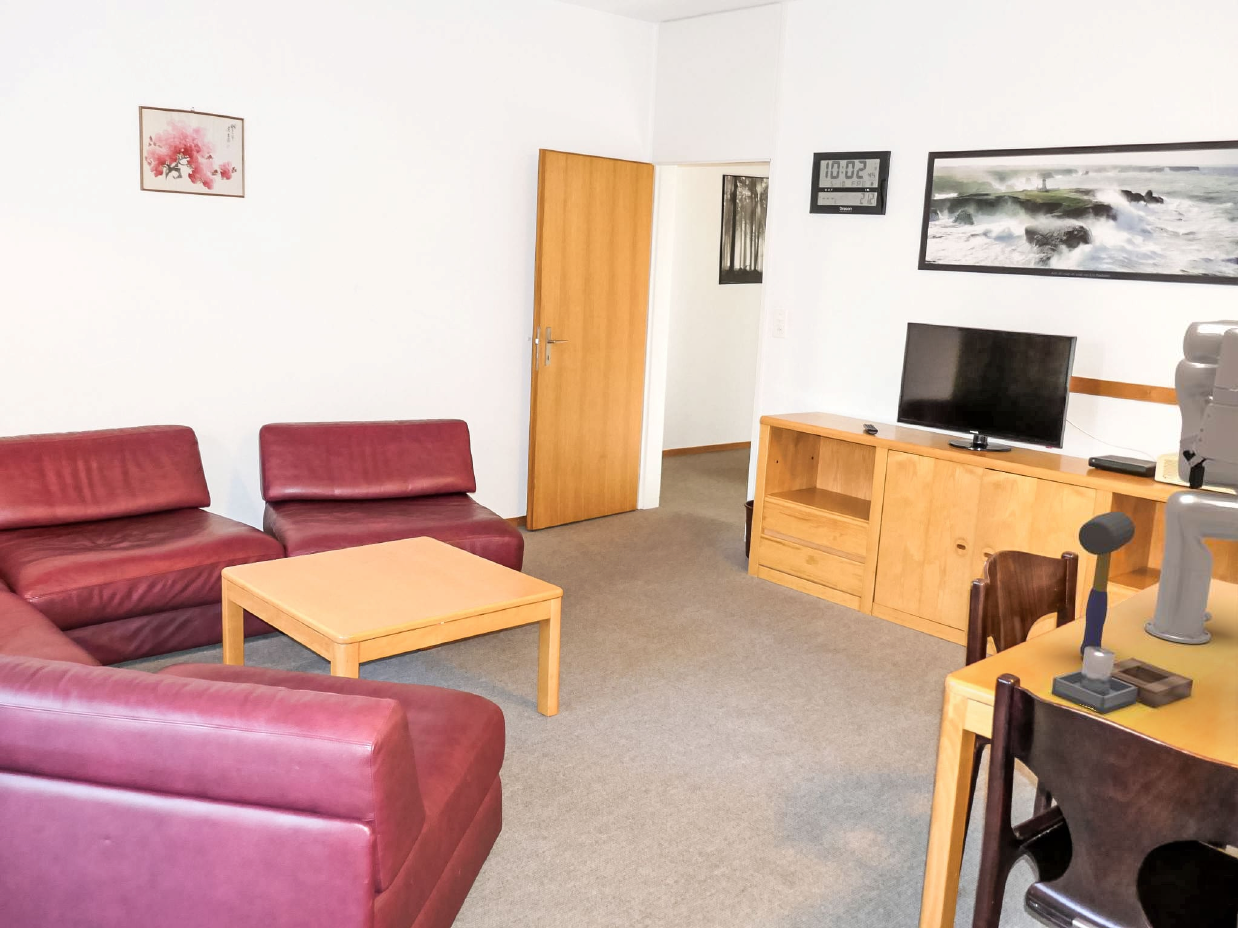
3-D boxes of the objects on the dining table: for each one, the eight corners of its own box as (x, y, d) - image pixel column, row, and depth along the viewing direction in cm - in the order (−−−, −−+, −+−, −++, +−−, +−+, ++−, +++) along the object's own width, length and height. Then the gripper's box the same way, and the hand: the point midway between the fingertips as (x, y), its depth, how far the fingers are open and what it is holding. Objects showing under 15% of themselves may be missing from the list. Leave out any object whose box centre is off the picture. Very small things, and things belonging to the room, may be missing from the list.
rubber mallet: (1097, 673, 206) (1118, 523, 200) (1058, 661, 211) (1077, 515, 205) (1120, 656, 215) (1140, 513, 209) (1082, 646, 220) (1101, 505, 214)
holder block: (1130, 672, 207) (1132, 657, 206) (1190, 694, 197) (1193, 679, 196) (1093, 683, 200) (1095, 668, 200) (1153, 707, 191) (1156, 692, 190)
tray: (1085, 682, 201) (1087, 667, 200) (1135, 702, 192) (1138, 687, 192) (1051, 693, 195) (1053, 677, 195) (1102, 714, 187) (1104, 698, 186)
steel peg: (1089, 685, 197) (1095, 644, 196) (1114, 695, 193) (1120, 653, 191) (1073, 690, 194) (1078, 649, 193) (1098, 700, 190) (1104, 658, 189)
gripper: (1300, 404, 181) (1283, 502, 184) (1199, 391, 195) (1186, 482, 198) (1277, 407, 177) (1261, 506, 180) (1177, 393, 191) (1163, 485, 194)
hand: (1222, 494), depth 189 cm, fingers open, 9 cm apart
